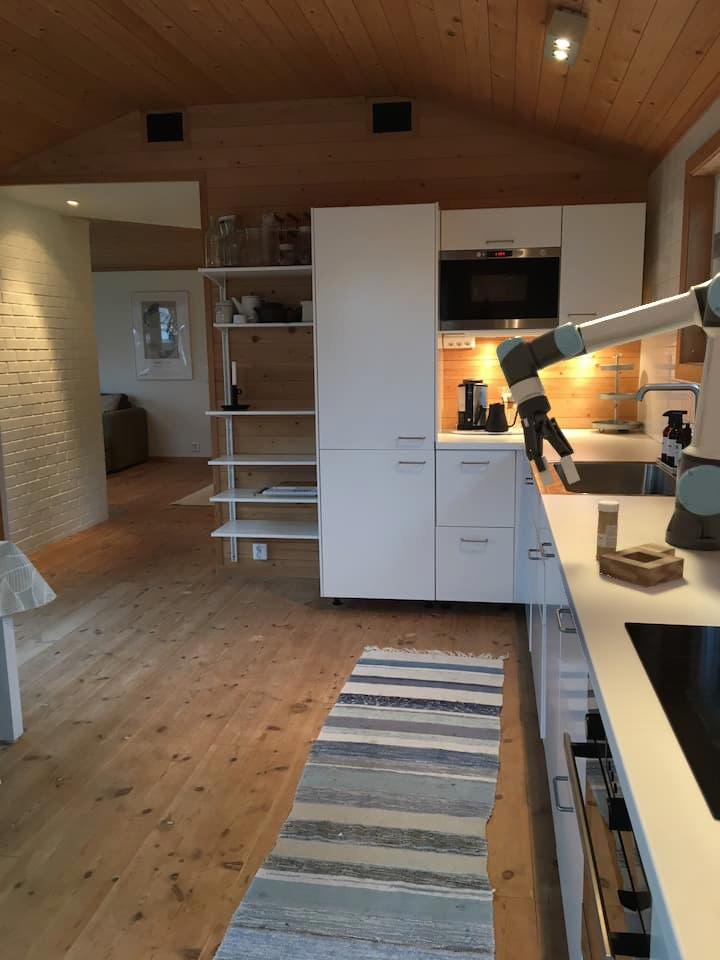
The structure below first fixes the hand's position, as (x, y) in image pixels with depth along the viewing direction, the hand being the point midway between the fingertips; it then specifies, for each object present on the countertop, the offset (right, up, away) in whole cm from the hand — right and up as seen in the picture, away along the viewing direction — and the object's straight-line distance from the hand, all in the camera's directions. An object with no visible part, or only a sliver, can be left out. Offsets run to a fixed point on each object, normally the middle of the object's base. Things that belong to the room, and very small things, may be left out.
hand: (562, 483), depth 178 cm
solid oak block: (+18, -18, -8) cm, 27 cm away
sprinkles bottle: (+9, -18, -3) cm, 20 cm away
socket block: (+13, -19, -15) cm, 28 cm away
